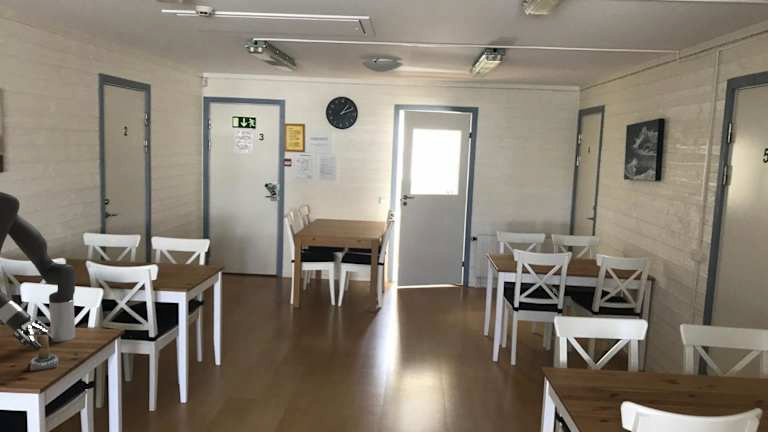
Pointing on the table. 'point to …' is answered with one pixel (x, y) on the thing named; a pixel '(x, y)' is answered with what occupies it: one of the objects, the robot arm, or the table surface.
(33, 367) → the carrier plate
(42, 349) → the brown round piece
